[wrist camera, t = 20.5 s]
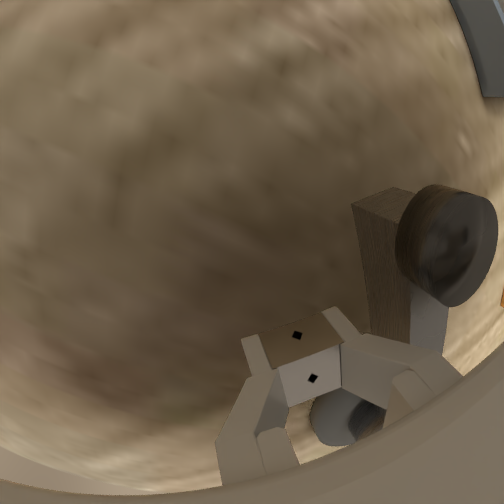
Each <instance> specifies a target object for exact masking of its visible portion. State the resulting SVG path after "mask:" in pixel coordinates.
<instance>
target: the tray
mask: <svg viewBox="0 0 504 504" xmlns="http://www.w3.org/2000/svg"><path fill="white" fill-rule="evenodd" d="M450 2H451V4H452V6H453V8H454V10H455V12H456V15H457V17H458V19H459V22H460V24H461V27H462V29H463V32H464V35H465V37H466V40H467V43H468V46H469V49H470V52H471V55H472V58H473V61H474V64H475V68H476V71H477V75H478V78H479V82H480V86H481V90H482V94H483V97H504V14H503V11H502V9H501V7H500V5H499V2H498V0H450Z"/></svg>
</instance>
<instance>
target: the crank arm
mask: <svg viewBox="0 0 504 504" xmlns="http://www.w3.org/2000/svg"><path fill="white" fill-rule="evenodd" d="M351 205H352V210H353V215H354V219H355V224H356V229H357V235H358V240H359V246H360V251H361V257H362V263H363V269H364V276H365V283H366V290H367V298H368V306H369V314H370V323H371V334H372V335H375V336H379V337H383V338H387V339H391V340H395V341H399V342H402V343H406V344H411V345H415V346H419V347H423V348H427V349H431V350H436V351H437V352H438V353H439V354H440V355H442V352H443V346H444V340H445V333H446V326H447V318H448V309H449V307H455V306H458V305H460V304H462V303H464V302H465V301H467V300H468V299H469V298H470V297H471V296H472V295H473V294H474V293H475V292H476V291H477V289H478V288H479V287H480V285H481V284H482V282H483V280H484V279H485V277H486V275H487V273H488V271H489V269H490V266H491V264H492V261H493V258H494V255H495V251H496V246H497V240H498V220H497V215H496V211H495V209H494V207H493V205H492V203H491V202H490V201H489V200H487V199H486V198H484V197H480V196H477V195H474V194H471V193H468V192H464V191H461V190H457V189H454V188H450V187H447V186H443V185H437V184H435V185H430V186H427V187H425V188H423V189H422V190H420V191H419V192H418V193H417V194H415V193H412V192H408V191H405V190H401V189H398V188H394V187H392V188H390V189H387V190H385V191H382V192H379V193H377V194H374V195H372V196H369V197H367V198H364V199H362V200H359V201H357V202H354V203H352V204H351ZM386 411H387V410H386V409H384V408H382V407H379V406H377V405H375V404H373V403H371V402H369V401H367V402H365V403H364V404H363V405H362V406H361V407H360V408H359V409H358V410H357V411H356V412H355V413H354V415H353V416H352V418H351V419H350V421H349V424H348V429H349V431H350V433H351V434H352V436H353V438H354V439H355V441H356V442H357V441H360V440H362V439H364V438H366V437H368V436H370V435H372V434H374V433H376V432H378V431H379V430H381V429H382V428H383V424H384V420H385V416H386Z"/></svg>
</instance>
